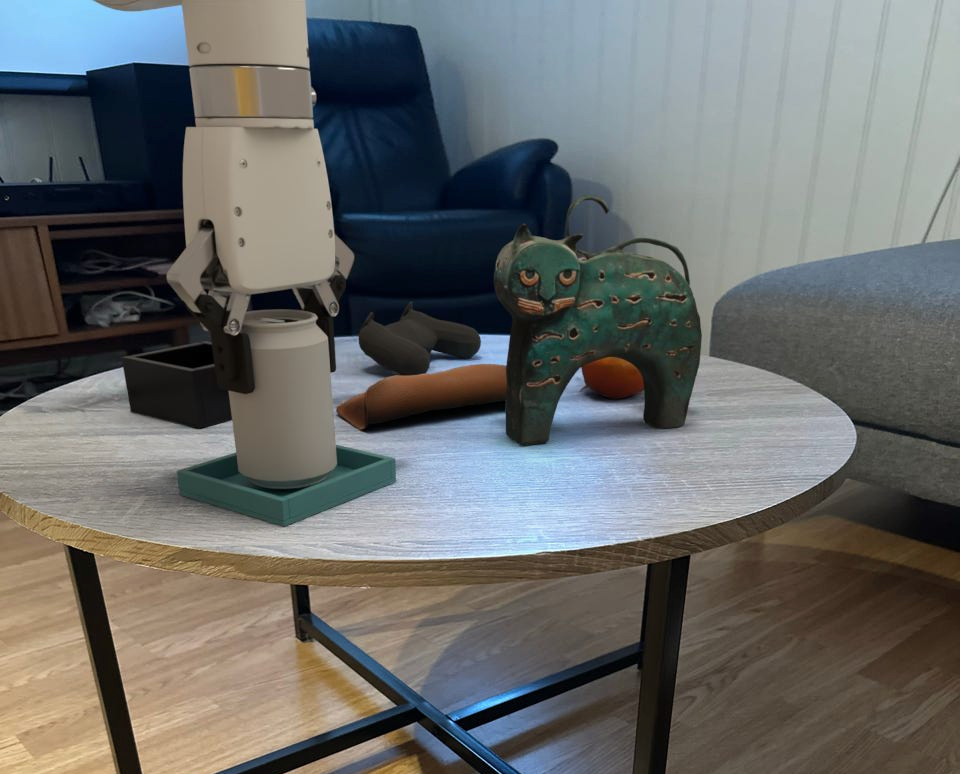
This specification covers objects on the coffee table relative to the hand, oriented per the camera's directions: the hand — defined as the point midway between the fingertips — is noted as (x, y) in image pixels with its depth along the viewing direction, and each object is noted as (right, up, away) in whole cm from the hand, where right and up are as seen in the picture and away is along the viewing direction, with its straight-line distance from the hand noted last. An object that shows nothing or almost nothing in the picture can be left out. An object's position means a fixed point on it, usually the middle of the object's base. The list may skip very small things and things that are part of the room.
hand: (279, 378), depth 69 cm
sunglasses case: (+10, +3, +25) cm, 27 cm away
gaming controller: (+7, +14, +44) cm, 46 cm away
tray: (0, -7, +4) cm, 8 cm away
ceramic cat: (+25, 0, +19) cm, 31 cm away
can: (0, -7, +4) cm, 8 cm away
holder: (-13, +4, +25) cm, 28 cm away
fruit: (+29, +7, +31) cm, 43 cm away
